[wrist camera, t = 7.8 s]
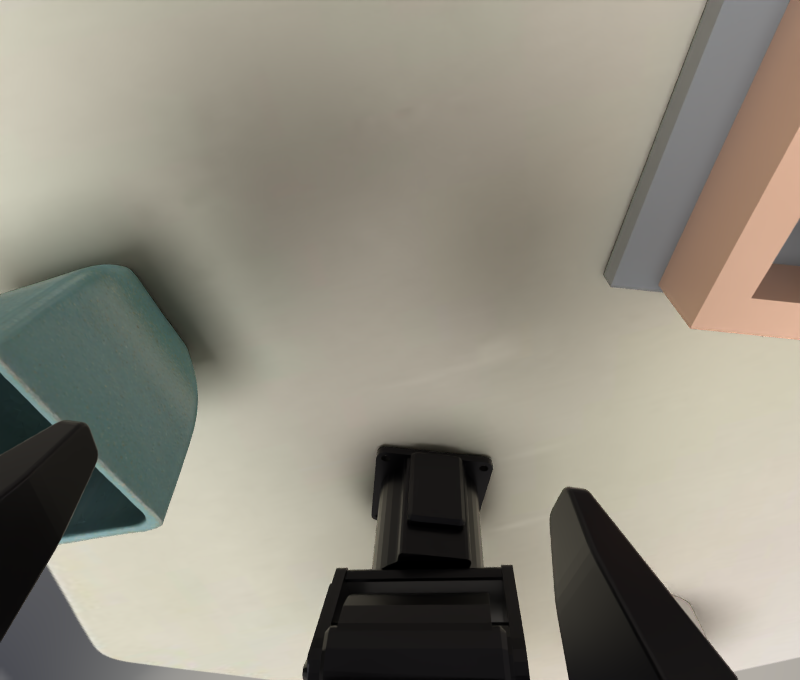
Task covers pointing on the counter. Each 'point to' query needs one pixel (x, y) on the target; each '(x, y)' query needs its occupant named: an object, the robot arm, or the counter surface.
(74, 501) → the robot arm
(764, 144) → the socket stand
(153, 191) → the counter surface
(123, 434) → the flower pot
